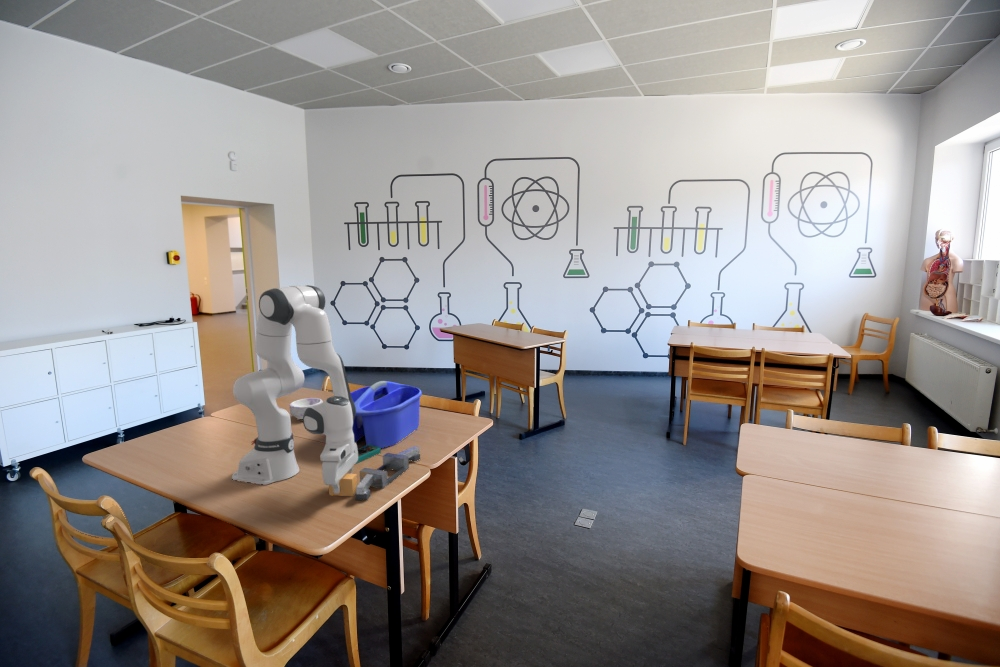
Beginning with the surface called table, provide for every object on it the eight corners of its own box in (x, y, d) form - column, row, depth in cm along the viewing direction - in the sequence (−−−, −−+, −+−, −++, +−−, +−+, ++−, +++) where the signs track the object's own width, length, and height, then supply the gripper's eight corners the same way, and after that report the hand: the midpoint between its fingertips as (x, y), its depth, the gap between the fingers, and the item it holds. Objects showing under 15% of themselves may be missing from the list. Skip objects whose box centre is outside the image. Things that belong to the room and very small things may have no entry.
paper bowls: (283, 421, 242) (282, 405, 240) (304, 411, 256) (303, 396, 255) (310, 423, 237) (309, 407, 236) (330, 414, 252) (329, 398, 250)
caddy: (434, 420, 239) (432, 372, 236) (386, 456, 197) (383, 398, 194) (375, 415, 249) (373, 369, 245) (318, 448, 207) (313, 393, 203)
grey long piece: (365, 502, 160) (364, 487, 160) (341, 498, 163) (340, 483, 163) (422, 458, 194) (421, 446, 194) (402, 455, 198) (401, 443, 197)
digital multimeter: (382, 453, 201) (381, 446, 201) (352, 466, 189) (352, 459, 189) (369, 450, 205) (369, 443, 205) (340, 462, 193) (339, 455, 193)
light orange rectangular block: (329, 495, 166) (328, 478, 165) (334, 490, 170) (333, 473, 169) (353, 496, 165) (351, 479, 164) (357, 490, 169) (356, 473, 168)
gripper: (344, 434, 175) (346, 472, 177) (317, 458, 155) (320, 500, 157) (361, 435, 175) (363, 472, 177) (337, 458, 154) (340, 500, 157)
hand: (343, 485), depth 167 cm, fingers open, 8 cm apart
